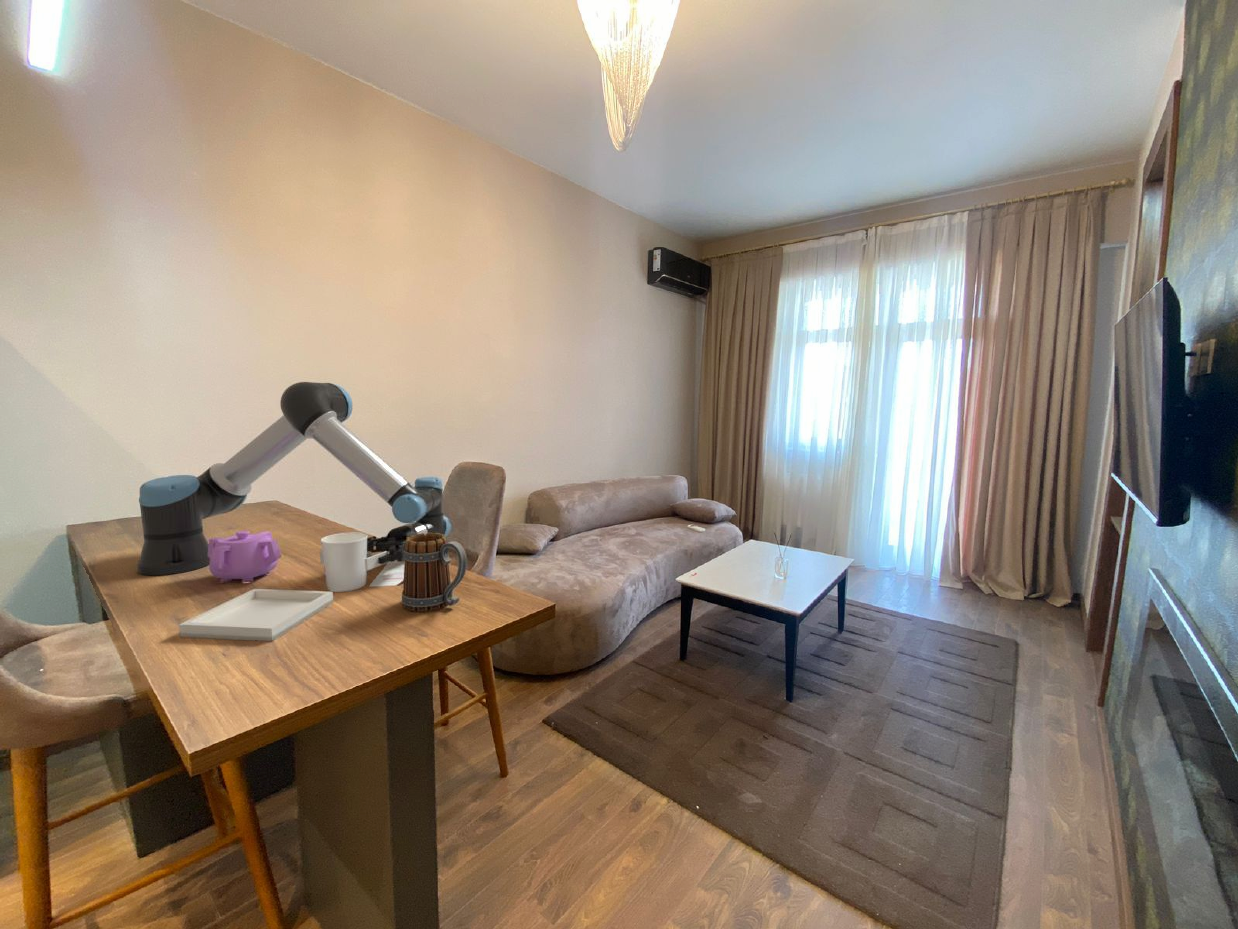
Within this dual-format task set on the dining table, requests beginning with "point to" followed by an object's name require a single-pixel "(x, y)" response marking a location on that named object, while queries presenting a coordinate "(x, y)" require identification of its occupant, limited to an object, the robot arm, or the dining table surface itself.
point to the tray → (257, 615)
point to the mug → (430, 572)
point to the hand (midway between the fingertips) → (343, 561)
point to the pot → (243, 556)
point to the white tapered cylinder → (345, 561)
